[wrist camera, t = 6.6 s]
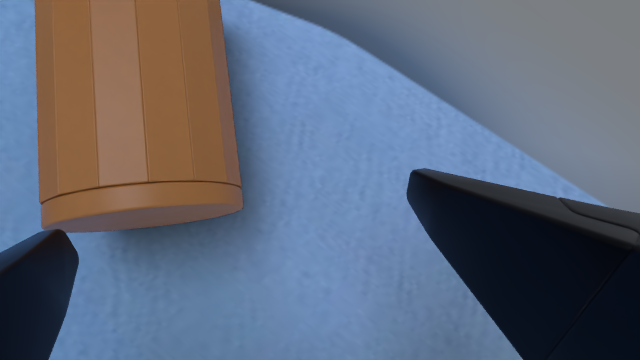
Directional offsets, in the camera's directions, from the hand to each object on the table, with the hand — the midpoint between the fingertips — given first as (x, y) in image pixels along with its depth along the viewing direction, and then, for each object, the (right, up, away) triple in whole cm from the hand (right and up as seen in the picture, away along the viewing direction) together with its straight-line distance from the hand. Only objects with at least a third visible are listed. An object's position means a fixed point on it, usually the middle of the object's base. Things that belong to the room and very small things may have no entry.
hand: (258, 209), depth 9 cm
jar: (-5, -1, +4) cm, 6 cm away
